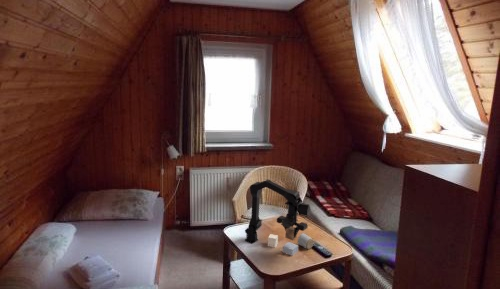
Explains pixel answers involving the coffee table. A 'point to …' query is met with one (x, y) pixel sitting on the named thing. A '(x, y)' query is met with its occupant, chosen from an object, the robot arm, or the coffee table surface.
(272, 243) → the cream block
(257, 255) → the coffee table surface
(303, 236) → the ceramic mug
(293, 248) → the light gray block
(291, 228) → the walnut block
